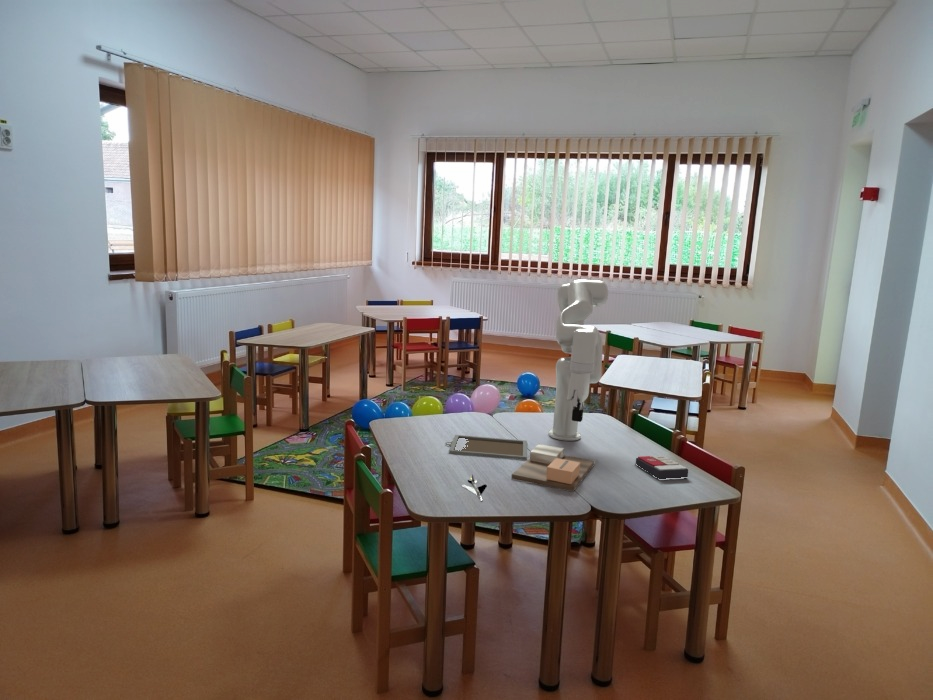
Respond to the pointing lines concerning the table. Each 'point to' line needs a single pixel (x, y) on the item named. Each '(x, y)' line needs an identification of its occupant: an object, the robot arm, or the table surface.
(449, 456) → the table surface
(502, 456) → the framed hanging board
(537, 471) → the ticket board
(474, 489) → the toy airplane
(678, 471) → the red black flat box
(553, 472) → the tan box with slot
